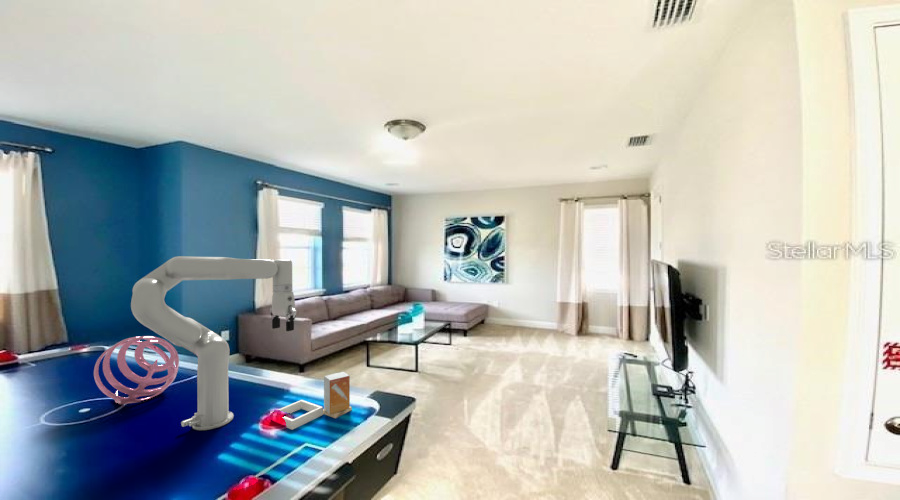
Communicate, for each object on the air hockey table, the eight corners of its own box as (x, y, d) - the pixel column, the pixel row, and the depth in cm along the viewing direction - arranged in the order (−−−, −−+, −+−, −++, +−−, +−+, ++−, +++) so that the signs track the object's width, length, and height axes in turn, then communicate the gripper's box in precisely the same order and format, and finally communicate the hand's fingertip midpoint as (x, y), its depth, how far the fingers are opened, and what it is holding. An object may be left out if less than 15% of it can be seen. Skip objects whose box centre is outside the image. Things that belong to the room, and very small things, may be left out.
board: (335, 418, 130) (335, 415, 130) (321, 413, 134) (321, 410, 134) (351, 409, 137) (351, 406, 137) (338, 405, 141) (337, 402, 141)
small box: (329, 414, 130) (329, 380, 130) (323, 409, 135) (323, 375, 135) (350, 408, 136) (349, 375, 136) (343, 403, 140) (343, 371, 140)
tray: (292, 429, 122) (292, 421, 122) (270, 420, 129) (270, 412, 129) (323, 414, 133) (322, 406, 133) (301, 407, 140) (301, 399, 140)
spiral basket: (74, 357, 146) (115, 322, 141) (150, 354, 171) (187, 325, 166) (76, 422, 134) (121, 387, 130) (158, 410, 160) (197, 380, 155)
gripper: (303, 288, 144) (303, 329, 144) (278, 286, 153) (279, 325, 153) (286, 290, 138) (287, 333, 138) (262, 288, 147) (262, 328, 147)
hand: (283, 329), depth 146 cm, fingers open, 9 cm apart
